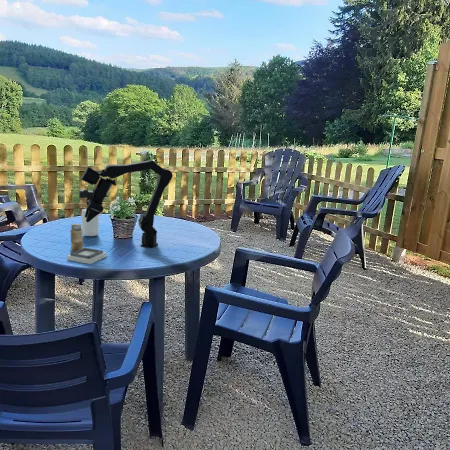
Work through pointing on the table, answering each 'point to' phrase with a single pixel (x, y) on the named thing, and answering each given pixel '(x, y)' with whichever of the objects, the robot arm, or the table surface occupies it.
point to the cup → (90, 225)
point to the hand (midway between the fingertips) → (86, 219)
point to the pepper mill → (76, 237)
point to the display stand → (86, 255)
